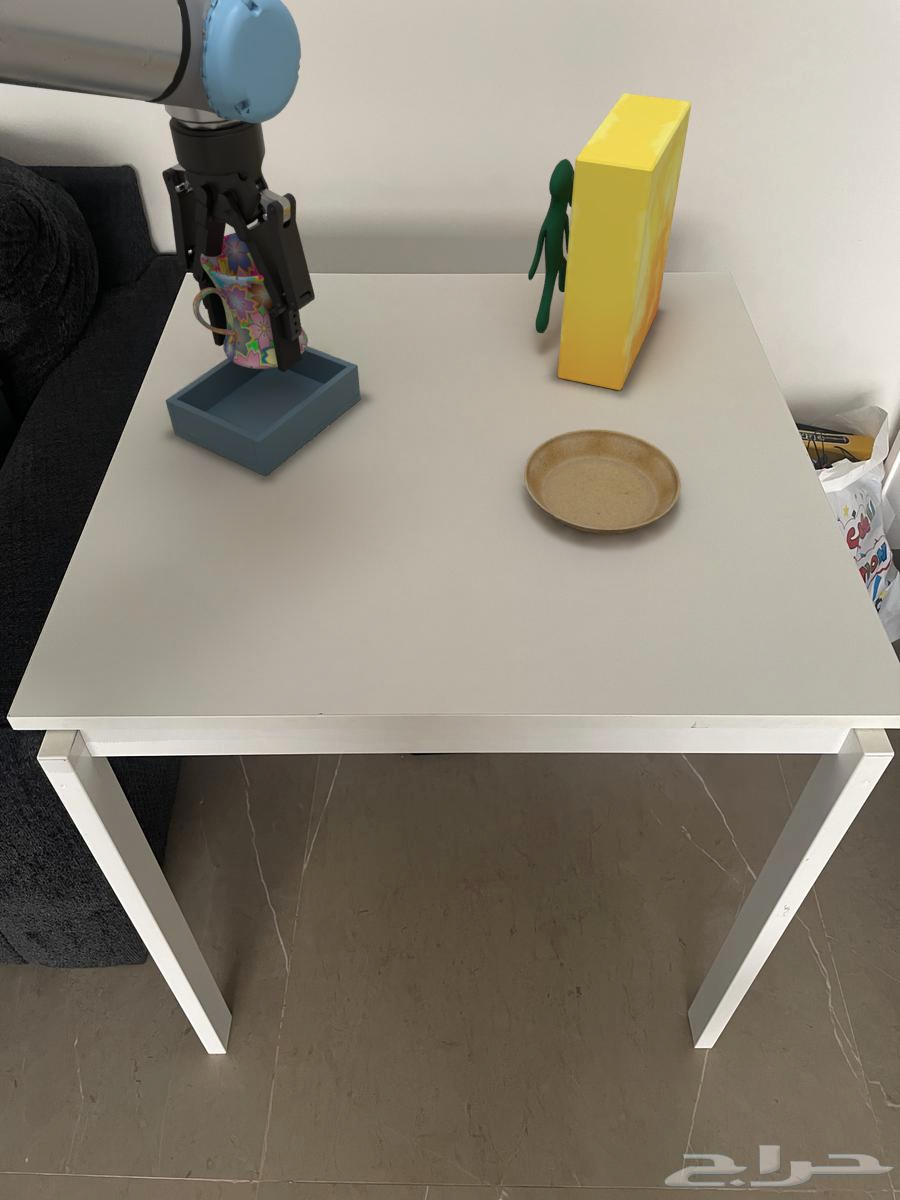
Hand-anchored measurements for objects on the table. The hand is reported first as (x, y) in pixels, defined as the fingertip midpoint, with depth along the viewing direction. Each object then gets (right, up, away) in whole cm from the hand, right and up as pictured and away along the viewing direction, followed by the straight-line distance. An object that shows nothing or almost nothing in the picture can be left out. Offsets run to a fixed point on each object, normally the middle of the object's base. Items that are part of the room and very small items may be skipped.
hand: (257, 351), depth 95 cm
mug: (0, -1, +1) cm, 1 cm away
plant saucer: (+34, -15, -3) cm, 37 cm away
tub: (0, -5, +6) cm, 8 cm away
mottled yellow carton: (+35, +5, +15) cm, 39 cm away
